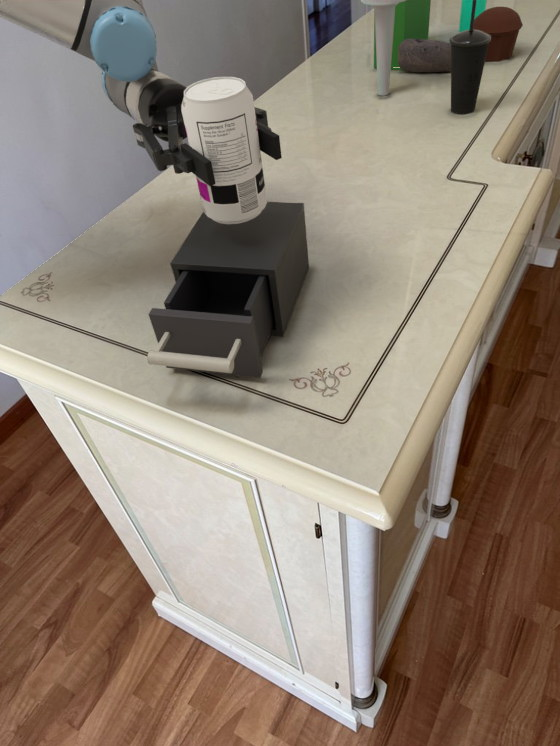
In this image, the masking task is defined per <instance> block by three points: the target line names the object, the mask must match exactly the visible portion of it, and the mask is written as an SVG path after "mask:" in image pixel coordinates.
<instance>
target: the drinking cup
mask: <svg viewBox="0 0 560 746" xmlns="http://www.w3.org/2000/svg"><path fill="white" fill-rule="evenodd" d="M476 1H477V0H473V3H472V12H471V21H470V30H465V31H462V32H460V33H459V32H457V33H456V34H453V35H451V36H450V38H449V43H451V70H450V111H451V113H453V114H455V115H468V114H472V113H473V112H475V109H476V105H477V101H478V96H479V91H480V86H481V82H482V77H483V73H484V69H485V63H486V62H485V59H486V54H487V49H488V45H489V42H490V41H491V36H490V35H489V34H487V33H484V32H482V31H480V30H473V27H474V19H475V10H476Z"/></svg>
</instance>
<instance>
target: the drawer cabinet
mask: <svg viewBox="0 0 560 746" xmlns="http://www.w3.org/2000/svg"><path fill="white" fill-rule="evenodd" d="M308 250H309V249H308V238H307V225H306V214H305V203H304V202H284V201H267V204H266V206H265V208H264V209H263V210H262V211H261V213H260V214H259V215H258V216H256V217H255V218H253V219H251V220H249V221H247V222H243V223H239V224H222V223H218V222H216V221H214V220H212V219H211V218H209V217H207V215H206V214H205V213H204V210H203V211H202V213H201V214H200V216H199V218H198V219H197V220H196V222H195V224H194V225H193V227H192V229H191V230H190V232H188V234H187V236H186V237H185V239H184V241H183V242H182V244H181V245H180V246H179V249H178V250H177V252H176V253H175V255H174V256H173V258H172V259H171V261H170V263H169V264H170V267H171V271H172V274H173V278H174V281H175V283H176V281H177V280H178V278H179V277H180V275H181V273H182V272H183V270H197V271H212V272H227V273H241V274H256V275H269V281H270V288H271V295H272V302H273V309H274V316H275V323H274V325H273V328H272V330H271V333H270V335H269V336H276V337H277V336H278V337H284V336H285V334H286V331H287V328H288V326H289V322H290V321H291V320H290V319H291V317H292V314H293V313H294V309H295V306H296V304H297V301H298V297H299V296H300V292H301V290H302V287H303V285H304V282H305V280H306V277H307V274H308V271H309V269H310V263H309V251H308Z"/></svg>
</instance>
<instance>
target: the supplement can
mask: <svg viewBox="0 0 560 746" xmlns="http://www.w3.org/2000/svg"><path fill="white" fill-rule="evenodd" d="M186 87H187V88H186V89H185V90H184V98H183V102H182V106H181V111H182V115H183V120H184V124H185V129H186V133H187V138H186V139H187V142H188V145H189V146H191V147H192V148H193V149H195V150H196V151H198V152H199V153H200V154H202V155H203V156H205V157H206V158H207V159H209V160H210V161H211V163H212V168H213V173H214V178H215V183H216V184H215V185H212V186H209V185H207V184H206V183H205V182H204V181H202V180H201V179H200V178H198V177H197V176H196V175H195V178H196V183H197V188H198V192H199V198H200V201H201V205H202V210H203V211H204V213H205V214H206V215H207V217H209V218H211V219H212V220H214V221H216V222H218V223H222V224H239V223H243V222H247V221H249V220H251V219H253V218H255V217H256V216H258V215H259V214H260V213H261V211H262V210H263V209H264V208H265V206H266V204H267V202H268V198H267V191H266V183H265V176H264V168H263V159H262V153H261V150H260V145H259V138H258V130H257V123H256V115H255V108H254V107H255V102H254V96H253V93H252V91H251V90H250V89H249V88H248V86H247V85H246V81H245V80H244V79H242V78H239V77H235V76H216V77H209V78H204V79H202V80H201V79H200V80H199V81H195V82H193V83H192V84H189V85H187V86H186Z"/></svg>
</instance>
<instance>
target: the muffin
mask: <svg viewBox="0 0 560 746" xmlns="http://www.w3.org/2000/svg"><path fill="white" fill-rule="evenodd" d="M522 27H523V22H522V19H521V16H520V14H519V13H518V12H517V11H516V10H514V9H513V8H511V7H508V6H493V7H490V8H487V9H486V10H485V11H484V12H482V13H481V14H480V15H478V16H477V17H476V18H475V20H474V27H473V30H480V31H482V32H484V33H487V34H489V35H490V36H491V41H490V42H489V45H488V49H487V54H486V59H485V63H488V62H489V63H490V62H501V61H505V60H509V59H510V57H512V56H513V52H514V49H515V46H516V42H517V40H518V36H519V33H520V30H521V29H522Z"/></svg>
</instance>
